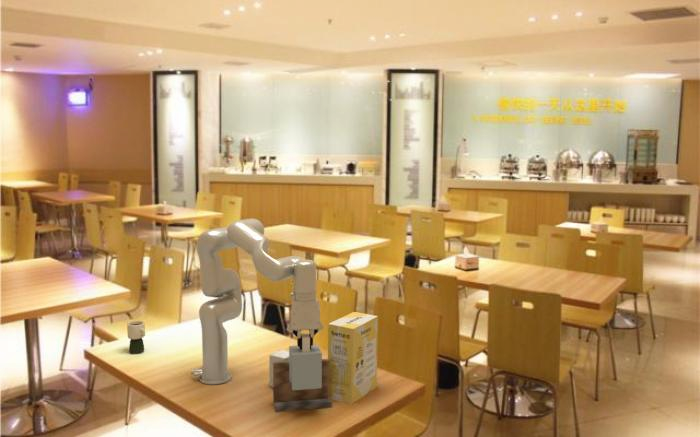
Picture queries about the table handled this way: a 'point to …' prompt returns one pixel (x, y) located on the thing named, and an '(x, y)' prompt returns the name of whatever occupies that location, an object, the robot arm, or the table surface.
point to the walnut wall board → (299, 398)
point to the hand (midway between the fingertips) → (305, 347)
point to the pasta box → (352, 356)
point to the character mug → (136, 336)
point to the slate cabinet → (305, 365)
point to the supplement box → (277, 357)
